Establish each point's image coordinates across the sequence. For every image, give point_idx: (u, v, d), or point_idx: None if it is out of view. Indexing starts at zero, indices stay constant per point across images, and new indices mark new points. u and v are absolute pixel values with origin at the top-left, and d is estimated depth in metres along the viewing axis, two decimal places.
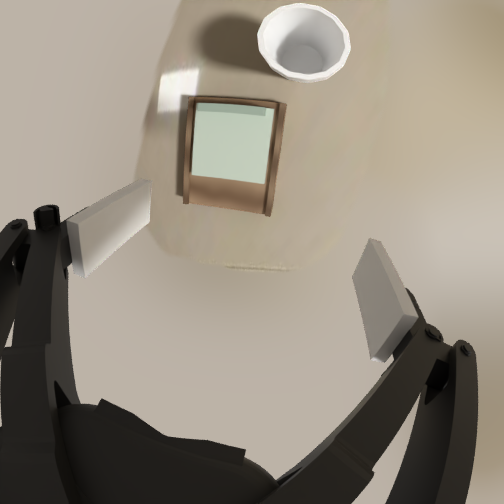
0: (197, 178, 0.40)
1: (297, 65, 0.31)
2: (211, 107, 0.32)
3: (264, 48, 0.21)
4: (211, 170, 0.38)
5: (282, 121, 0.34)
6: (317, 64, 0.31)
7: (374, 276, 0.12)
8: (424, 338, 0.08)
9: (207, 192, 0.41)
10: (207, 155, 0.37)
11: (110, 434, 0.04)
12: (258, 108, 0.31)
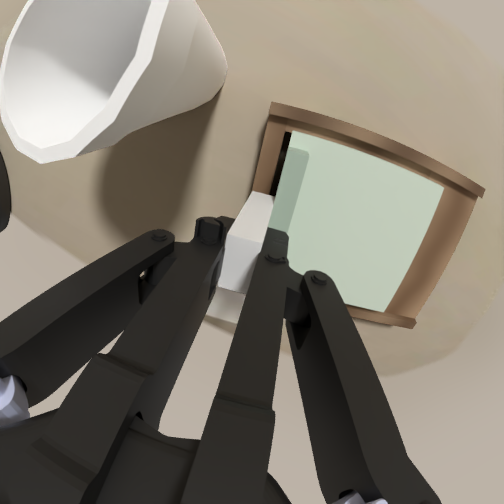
0: None
1: None
2: None
3: (70, 142, 0.07)
4: (391, 279, 0.18)
5: (313, 114, 0.15)
6: None
7: None
8: (266, 265, 0.10)
9: (413, 287, 0.20)
10: (361, 281, 0.19)
11: None
12: (288, 164, 0.14)
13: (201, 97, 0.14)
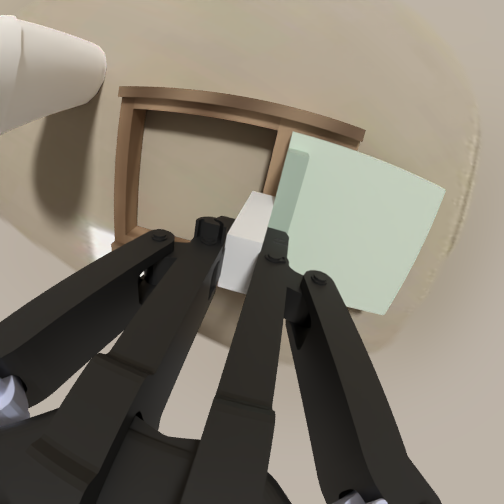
0: None
1: None
2: None
3: None
4: (391, 282, 0.18)
5: (148, 88, 0.15)
6: None
7: None
8: (266, 265, 0.10)
9: None
10: (362, 283, 0.19)
11: None
12: (288, 166, 0.14)
13: (72, 94, 0.14)
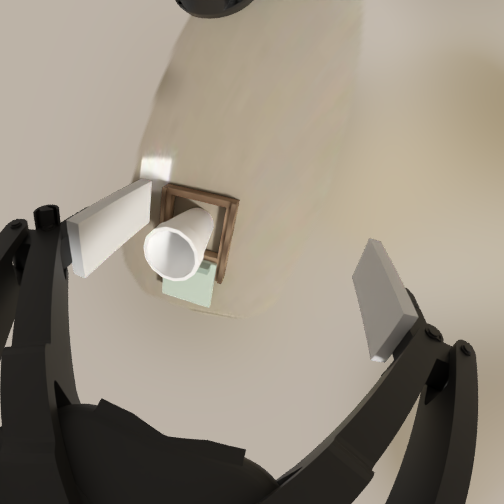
0: None
1: None
2: None
3: (148, 257, 0.41)
4: (175, 293, 0.57)
5: (232, 218, 0.47)
6: None
7: (374, 276, 0.12)
8: (424, 338, 0.08)
9: None
10: (172, 284, 0.56)
11: (110, 434, 0.04)
12: (203, 269, 0.50)
13: None
